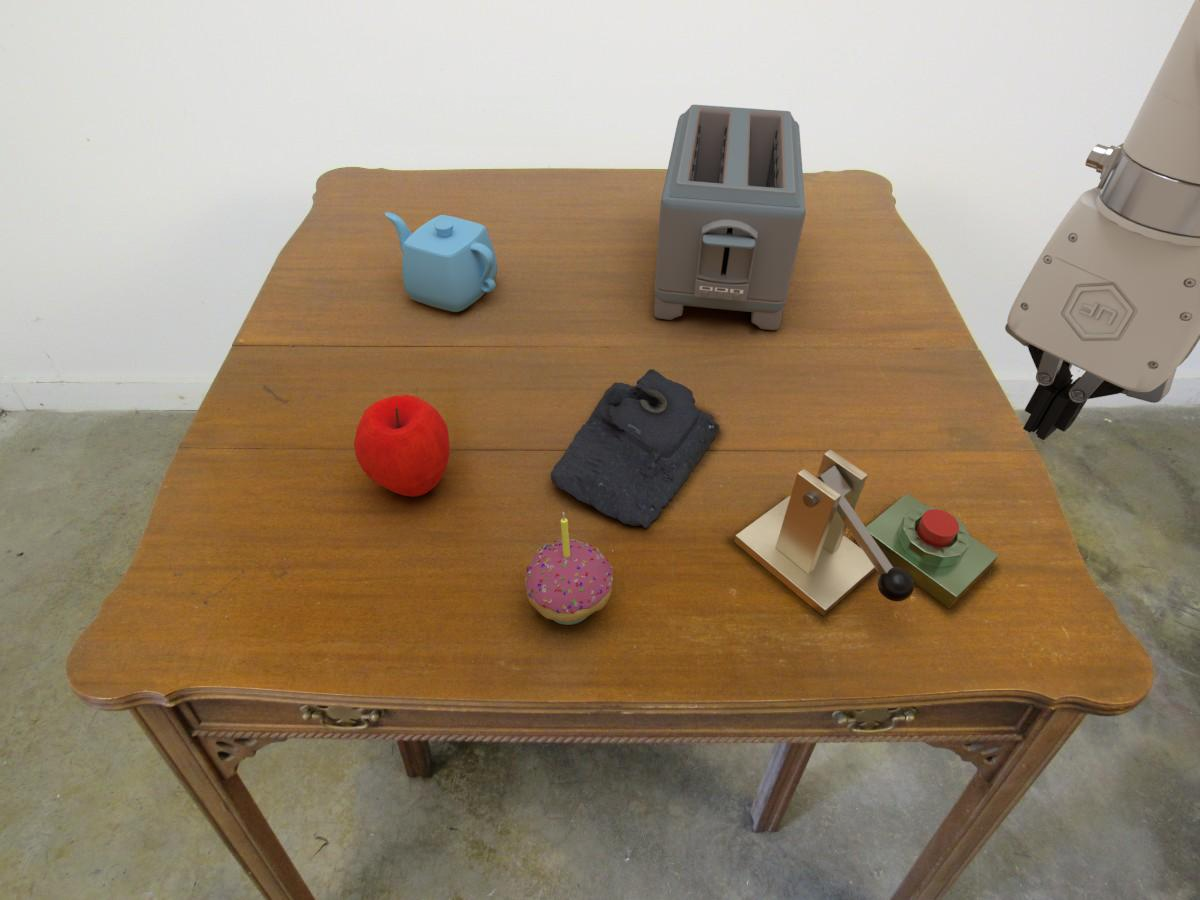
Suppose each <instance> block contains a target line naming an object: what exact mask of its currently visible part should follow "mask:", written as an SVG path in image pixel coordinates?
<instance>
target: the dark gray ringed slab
mask: <svg viewBox="0 0 1200 900" xmlns="http://www.w3.org/2000/svg"><path fill="white" fill-rule="evenodd" d="M695 404H696V399H695V398H694V395H693V391H692V390H691V389H689V388H688V387H687V386H685V385H683V384H682V383H679V382H677V381H673V380H672V379H669V378H666V377H665V376H664V375H663V374H661V373H660V372H659V371H656V370H655V369H654V368H650V369H649V370H647V371H646V372H645V374H644V375H643V376H642V377H640V378H639V379H637V381H636V385H630V384H629V383H624V382H613V383H612V385H611V386H610V387H608V388H607V389H606V390H605V392H604V394H603V395H602V397H601V398H600V399H599V401H598V402H597V404H596V405H595V407H594V410H592V411H593V412H592V413H591V414H590V416H589V418H588V420H587V421H586V422H585V424H582V425H581V428H580V429H579V430H578V431H577V432H576V433H575V435H574V437H573V440H572V442H571V443H569V444H568V445H569V446H568V447H567V449H566V450H565V452H564V453H563V455H562V456H561V458H560V459H559V460H558V461H557V462H556V464H555V465H554V466H553V469H552V470H551V471H550V480H551V483H552V484H553V485H554V486H555V487H556V488H558V489H560V490H562V491H564V492H565V493H568V494H569V495H571V496H572V497H574V498H575V499H576V500H578V501H581V502H582V503H584V504H587V505H589V506H592V507H593V508H595V509H596V511H598V512H600V513H601V514H603V515H605V516H607V517H611V518H613V519H615V520H617V521H619V522H620V523H622V524H624V525H630V526H633V527H639V526H642V527H643V528H645V529H646V528H648V527H649V526H651V524H652V522H654V521H655V520H656V519H657V518H658V517H659V515H660V514H661V513H662V510H663V508H666V507H667V506H668V504H669V502H670V501H671V500H672V499H673V498H674V496H675V495H676V494H677V493H678V492H679V490H681V487H682V486H683V485H684V484H685V483H686V481H687V480H688V479H689V478H688V477H689V476H690V475H691V473H692V472H693V470H694V469H695V467H696V466H697V465H698V463H699V462H700V461H701V460H702V458H703V456H704V455H705V452H706V451H707V450H708V449H710V446H711V444H712V443H713V441H714V439H715V438H716V436H717V435H718V433H719V430H720V425H719V423H717V422H716V421H714V420H713V418H714V416H713V415H712V414H710V413H708V412H704V411H703V410H701V409H698V408H697V407H696V405H695Z"/></svg>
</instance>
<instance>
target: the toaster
mask: <svg viewBox="0 0 1200 900" xmlns="http://www.w3.org/2000/svg"><path fill="white" fill-rule="evenodd" d="M676 123H677V124H676V128H675V133H674V137H673V142H672V146H671V152H670V157H669V161H668V165H667V170H666V171H667V172H666V174H665V175H666V176H665V179H664V184H663V190H662V194H661V199H660V208H659V222H658V233H657V250H656V263H655V278H654V290H653V291H654V307H653V314H654V317H655V318H656V319H658V320H667V321H672V320H674V319H676V318H678V317H681V316H683V313H684V306H685V307H695V308H706V309H715V310H716V309H717V310H724V311H725V310H726V311H737V312H746V313H747V312H748V313H751V315H750V316H751V318H750V319H751V320H750V322H751V323H752V324H754V325H755V326H757V327H758V328H759V329H760V330H767V331H776V330H778V329H779V328H780V326H781V321H782V317H783V312H784V310H785V306H786V303H787V299H788V294H789V290H790V286H791V281H792V277H793V272H794V268H795V263H796V259H797V255H798V251H799V245H800V241H801V236H802V232H803V228H804V223H805V218H806V215H807V214H806V211H807V210H806V196H805V186H804V185H805V184H804V172H803V170H804V169H803V158H802V146H801V135H800V134H801V131H800V124H799V123H798V122H797V120H795V118H794V117H793V114H792V112H791V111H788V110H779V109H778V110H777V109H765V108H764V109H763V108H751V107H750V108H748V107H735V106H719V105H708V104H691V105H690V106H689V108H688V109H687V110H686V111H684V112H683V113H681V114H680V115H679V117H678V120H677V122H676Z"/></svg>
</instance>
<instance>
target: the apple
mask: <svg viewBox="0 0 1200 900" xmlns="http://www.w3.org/2000/svg"><path fill="white" fill-rule="evenodd" d="M354 435H355V436H354V441H353V447H354V453H355V459H356V461H357V462H358V465H359V466H360V468H361V469H362V471H363V472H364V473H365V475H366V476H367V477H368V478H369V479H370V480H371V481H373V482H374V483H376V484H378V485H379V486H382V487H383V488H385V489H386V490H389V491H391V492H393V493H395V494H398V495H401V496H404V497H411V498H413V497H420V496H423V495H425V494H428V492H430V491H432V490H433V489H434V488H435V487H437V485H438V484H439V483H440V481H441V480H442V478H443V476H444V474H445V472H446V470H447V466H448V463H449V458H450V455H451V453H450V452H451V451H450V449H451V448H450V447H451V446H450V437H449V436H450V435H449V430H448V425H447V423H446V422H445V420H444V418H443V417H442V415H441V413H440V412H439V411H438V410H437V409H436V408H435V407H434V406H432V404H430V403H429V402H427V401H425V400H424V399H422V398H420V397H419V396H415V395H409V394H399V395H393V396H388V397H385V398H382V399H379V400H377V401H374V402H373V403H372V404H371V405H369V406H368V407H367V408H366V409H364V411H363V413H362V415H361V418H360V420H359V422H358V424H357V427H356V431H355V434H354Z"/></svg>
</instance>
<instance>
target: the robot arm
mask: <svg viewBox="0 0 1200 900" xmlns="http://www.w3.org/2000/svg"><path fill="white" fill-rule="evenodd" d="M1085 167H1088V168H1092V169H1093V170H1094V169H1095V172H1096V173H1098V174H1100V176H1099V180H1100V181H1099V183H1098V185H1097V186H1095V187H1093V188H1091V189H1088V190H1086V191H1084V192H1083V193H1081V194H1080V196H1079V197H1078V198H1077V199H1076V200H1075V202H1074V203H1073V204H1072V206H1071V207H1070V208H1069V210H1068V211H1067V213H1066V214H1065V215H1064V217H1063V218H1062V220H1061V221H1060V223H1058V224H1059V225H1057V227H1056V229H1055V230H1054V232H1053V233H1052V235H1051V236H1050V238H1049V240H1048V242H1047V243H1046V245H1045V247H1044V248H1043V250H1042V252H1041V253H1040V255H1039V257H1038V258H1037V260H1036V262H1035V263H1034V265H1033V266H1032V269H1031V270H1030V272H1029V273H1028V276H1027V278H1026V279H1025V281H1024V282H1023V284H1022V286H1021V288H1020V290H1019V292H1018V293H1017V295H1016V297H1015V299H1014V300H1013V303H1012V305H1011V308H1010V310H1009V313H1008V315H1007V321H1006V322H1007V323H1006V324H1005V326H1004V329H1005V332H1006V333H1007V334H1008V335H1009V336H1011V337H1012V338H1013V339H1014V340H1016V341H1017V342H1019V344H1021V345H1022V346H1023V347H1027V349H1028V352H1029V355H1030V357H1031V359H1032V362H1033V365H1034V367H1035V369H1036V370H1037V371H1036V374H1035V380H1036V383H1038V384H1037V386H1036V387H1035V389H1034V392H1033V393H1032V395H1031V397H1030V399H1029V401H1028V403H1027V405H1026V406H1025V408H1024V412H1025V413H1028V414H1030V415H1029V416H1028V419H1027V420H1026V422H1025V424H1024V425H1023V428H1022V429H1023V430H1024V431H1026V432H1027V433H1030V434H1031V432H1032V433H1033V434H1034V433H1035V435H1036V437H1037V438H1039V439H1040V440H1042V441H1045V440H1046V439H1048V438H1049V437H1050V435H1052V434H1053V433H1054V432H1055V431H1056V430H1059V431H1061V432H1063V433H1065V432H1066V431H1067V430H1068V429H1069V428H1070V427H1071V426H1072V425H1073V424H1074V422H1075V421H1076V419H1077V417H1078V416H1079V414H1080V412H1081V411H1082V409H1083V408H1084V406H1085V404H1086V403H1087V401H1088V400H1091V399H1097V398H1103V397H1109V396H1113V395H1119V394H1122V395H1125V397H1128V398H1129V397H1130V398H1133V399H1137V400H1140V401H1144V402H1149V403H1153V404H1155V403H1159V402H1161V401H1162V400H1163V399H1164V398H1165V397H1166V396H1167V395H1168V394H1169V393H1170V390H1171V389H1172V388H1171V387H1172V384H1173V381H1174V378H1175V374H1176V373H1177V372H1176V371H1177V368H1178V367H1180V366H1181V365H1182V364H1183V363H1184V362H1185V360H1187V358H1189V356H1191V354H1192V352H1193V350H1194V349H1195V348H1196V346H1197V344H1198V343H1199V341H1200V0H1194V1H1193V3H1192V5H1191V6H1190V9H1189V11H1188V13H1187V15H1186V16H1185V18H1184V21H1183V23H1182V25H1181V28H1180V29H1179V31H1178V33H1177V35H1176V37H1175V38H1174V41H1173V43H1172V45H1171V46H1170V49H1169V50H1168V52H1167V54H1166V56H1165V59H1164V61H1163V62H1162V65H1161V67H1160V69H1159V71H1158V73H1157V75H1156V77H1155V79H1154V81H1153V83H1152V84H1151V86H1150V89H1149V90H1148V93H1147V95H1146V97H1145V98H1144V101H1143V102H1142V104H1141V107H1140V109H1139V110H1138V112H1137V115H1136V116H1135V118H1134V121H1133V123H1132V125H1131V126H1130V129H1129V131H1128V132H1127V135H1126V137H1125V139H1124V141H1123V142H1122V143H1121V144H1119V145H1110V146H1107V145H1103V144H1100V143H1097V144H1095V146H1094V147H1093V148H1092V149H1091V151H1090V152H1089V154H1088V156H1087V158H1086V160H1085ZM1073 366H1074V367H1076V368H1079V369H1080V370H1082V371H1085V372H1084V373H1083V374H1082V375H1081V376H1079V377H1077V378H1076V379H1075V380H1074V379H1073V376H1074V374H1072V371H1071V369H1072V367H1073Z"/></svg>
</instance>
